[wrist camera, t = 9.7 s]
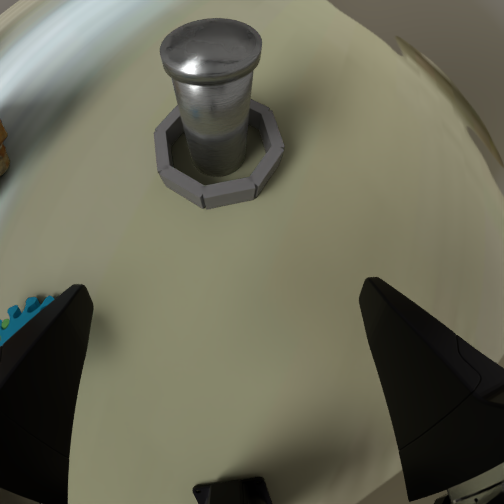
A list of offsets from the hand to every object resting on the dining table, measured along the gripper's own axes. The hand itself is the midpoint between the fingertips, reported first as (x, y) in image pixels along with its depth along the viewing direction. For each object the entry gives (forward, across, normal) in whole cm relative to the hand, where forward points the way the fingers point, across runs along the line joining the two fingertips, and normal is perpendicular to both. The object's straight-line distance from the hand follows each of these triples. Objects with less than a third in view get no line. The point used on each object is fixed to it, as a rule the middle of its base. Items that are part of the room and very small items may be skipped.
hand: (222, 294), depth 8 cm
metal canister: (+19, +1, +1) cm, 19 cm away
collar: (+19, +1, +1) cm, 19 cm away
